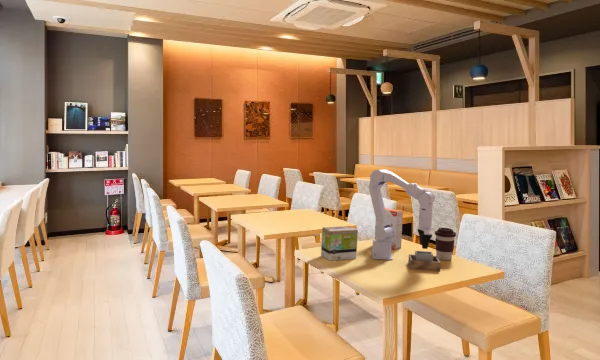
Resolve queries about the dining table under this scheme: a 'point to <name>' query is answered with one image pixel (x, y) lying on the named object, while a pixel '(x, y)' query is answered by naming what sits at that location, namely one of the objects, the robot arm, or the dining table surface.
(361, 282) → the dining table surface
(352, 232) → the tea box
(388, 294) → the dining table surface
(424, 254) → the grey crate
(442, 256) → the coffee cup
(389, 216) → the cracker box
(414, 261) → the walnut crate
